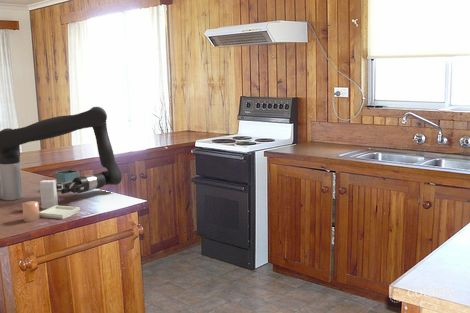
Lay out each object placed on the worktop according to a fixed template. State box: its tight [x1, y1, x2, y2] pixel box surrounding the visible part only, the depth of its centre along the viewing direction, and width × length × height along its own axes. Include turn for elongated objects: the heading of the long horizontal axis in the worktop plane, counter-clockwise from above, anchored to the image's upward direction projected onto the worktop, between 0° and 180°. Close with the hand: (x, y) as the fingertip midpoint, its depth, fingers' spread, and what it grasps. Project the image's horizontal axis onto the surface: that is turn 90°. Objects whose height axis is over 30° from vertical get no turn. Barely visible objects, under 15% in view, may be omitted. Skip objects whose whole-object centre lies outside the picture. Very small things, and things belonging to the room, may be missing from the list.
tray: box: [39, 204, 81, 220], centre depth 212 cm, size 12×12×2 cm
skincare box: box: [39, 179, 59, 210], centre depth 222 cm, size 6×4×12 cm
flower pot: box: [54, 169, 80, 183], centre depth 257 cm, size 9×9×9 cm
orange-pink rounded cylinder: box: [22, 200, 41, 223], centre depth 204 cm, size 6×6×7 cm
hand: (55, 190), depth 225 cm, fingers open, 8 cm apart
